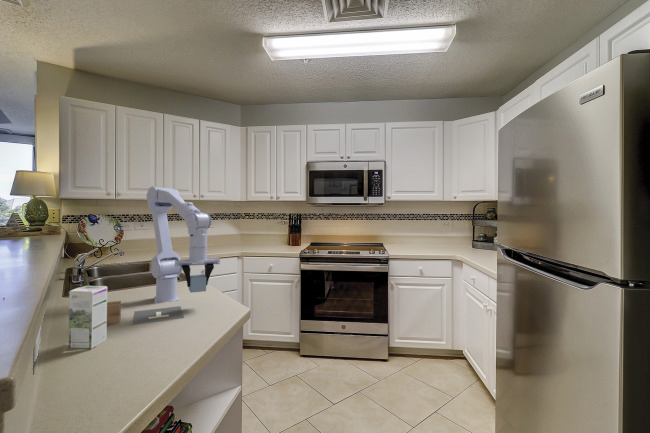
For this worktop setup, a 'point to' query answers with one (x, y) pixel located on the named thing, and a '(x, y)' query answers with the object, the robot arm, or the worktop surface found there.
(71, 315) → the syrup box
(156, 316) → the letter mat
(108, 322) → the walnut block
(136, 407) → the worktop surface
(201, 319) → the worktop surface
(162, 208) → the robot arm
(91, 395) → the worktop surface
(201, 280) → the blue cube
